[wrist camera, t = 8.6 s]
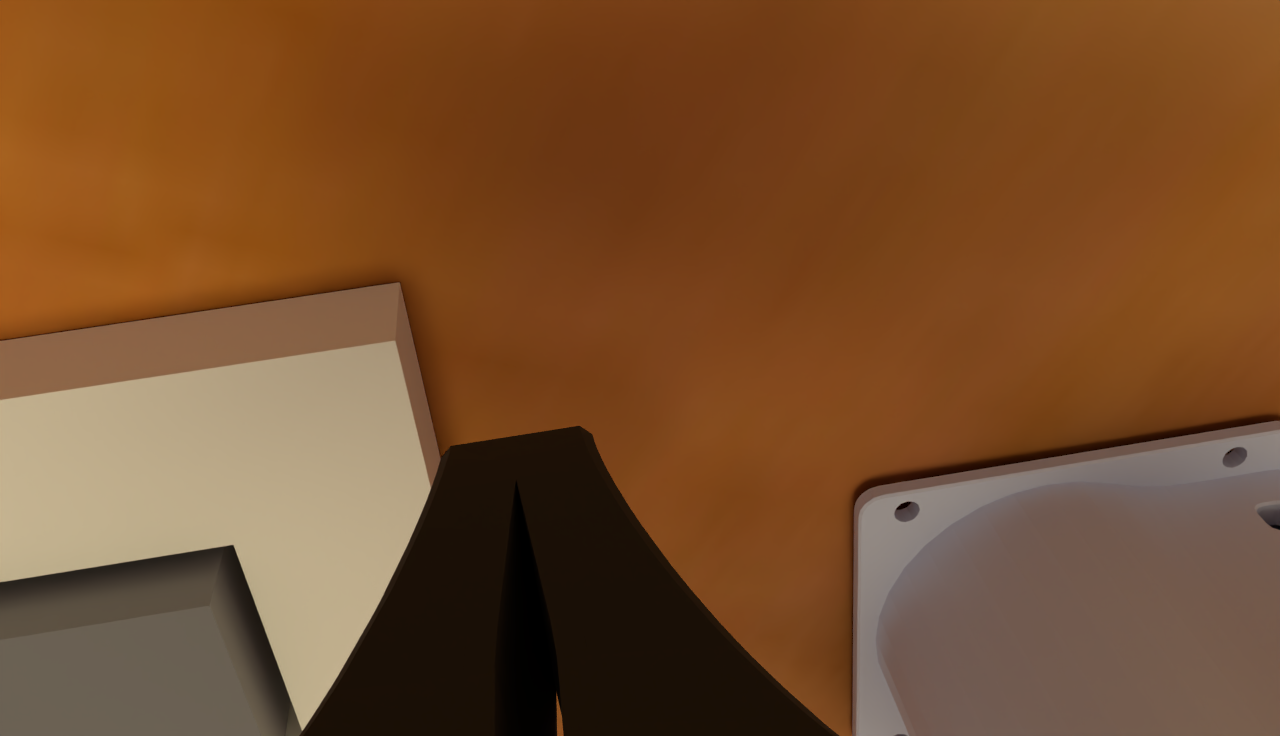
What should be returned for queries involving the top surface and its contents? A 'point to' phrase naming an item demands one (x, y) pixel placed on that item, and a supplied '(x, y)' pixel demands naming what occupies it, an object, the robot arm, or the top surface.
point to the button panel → (228, 458)
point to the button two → (139, 652)
